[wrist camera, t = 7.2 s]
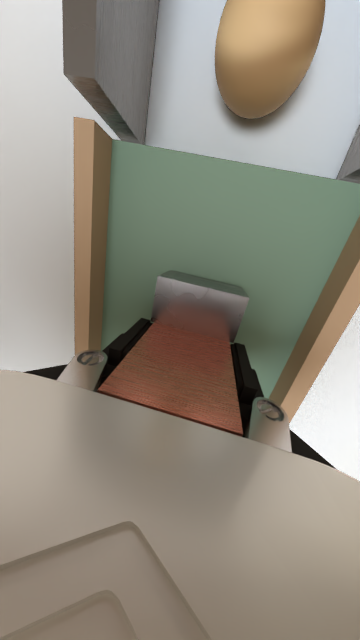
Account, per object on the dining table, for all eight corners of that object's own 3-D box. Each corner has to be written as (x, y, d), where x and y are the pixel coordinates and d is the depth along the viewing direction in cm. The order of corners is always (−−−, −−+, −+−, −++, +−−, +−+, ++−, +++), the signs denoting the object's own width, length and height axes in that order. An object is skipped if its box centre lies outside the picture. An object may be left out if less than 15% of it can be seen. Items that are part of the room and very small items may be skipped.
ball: (246, 140, 8) (301, -66, 5) (191, 109, 10) (203, -68, 6) (304, 123, 10) (382, -53, 6) (248, 97, 11) (284, -57, 7)
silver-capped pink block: (209, 384, 14) (202, 533, 7) (152, 368, 15) (87, 491, 7) (241, 286, 11) (290, 357, 4) (170, 269, 12) (93, 305, 4)
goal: (358, 186, 10) (472, 136, 6) (124, 143, 12) (63, 74, 7) (476, -66, 7) (927, -609, 3) (142, -89, 8) (53, -496, 4)
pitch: (233, 469, 19) (237, 512, 16) (96, 425, 21) (75, 456, 18) (368, 199, 10) (433, 178, 7) (111, 151, 12) (73, 116, 9)
